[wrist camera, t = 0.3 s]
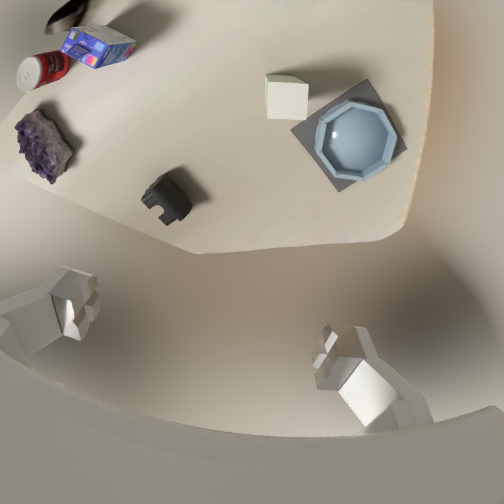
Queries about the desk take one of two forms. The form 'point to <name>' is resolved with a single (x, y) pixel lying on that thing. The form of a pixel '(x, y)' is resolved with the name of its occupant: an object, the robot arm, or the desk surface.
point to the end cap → (167, 200)
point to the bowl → (355, 140)
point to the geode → (43, 145)
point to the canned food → (42, 70)
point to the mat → (308, 126)
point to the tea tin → (286, 97)
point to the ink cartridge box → (97, 45)
